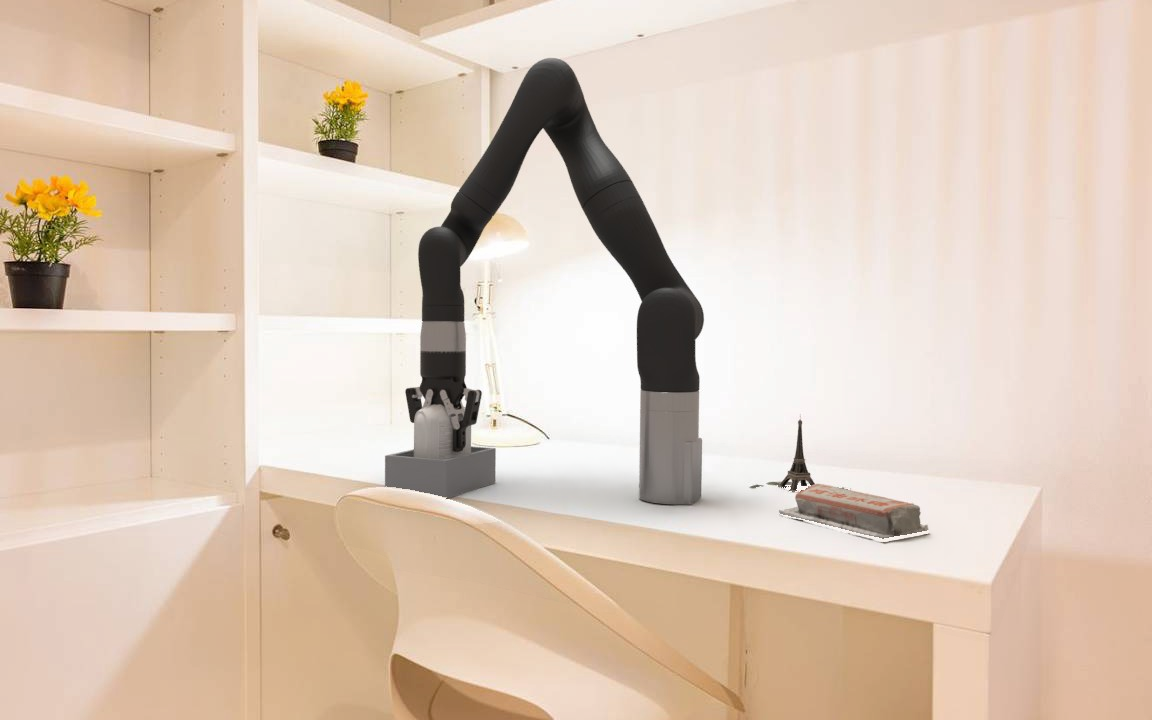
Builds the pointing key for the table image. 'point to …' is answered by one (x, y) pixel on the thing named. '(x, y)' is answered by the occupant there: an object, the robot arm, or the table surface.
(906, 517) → the packaged product
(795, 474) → the eiffel tower figurine
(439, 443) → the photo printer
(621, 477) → the table surface
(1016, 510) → the table surface
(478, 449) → the crate
